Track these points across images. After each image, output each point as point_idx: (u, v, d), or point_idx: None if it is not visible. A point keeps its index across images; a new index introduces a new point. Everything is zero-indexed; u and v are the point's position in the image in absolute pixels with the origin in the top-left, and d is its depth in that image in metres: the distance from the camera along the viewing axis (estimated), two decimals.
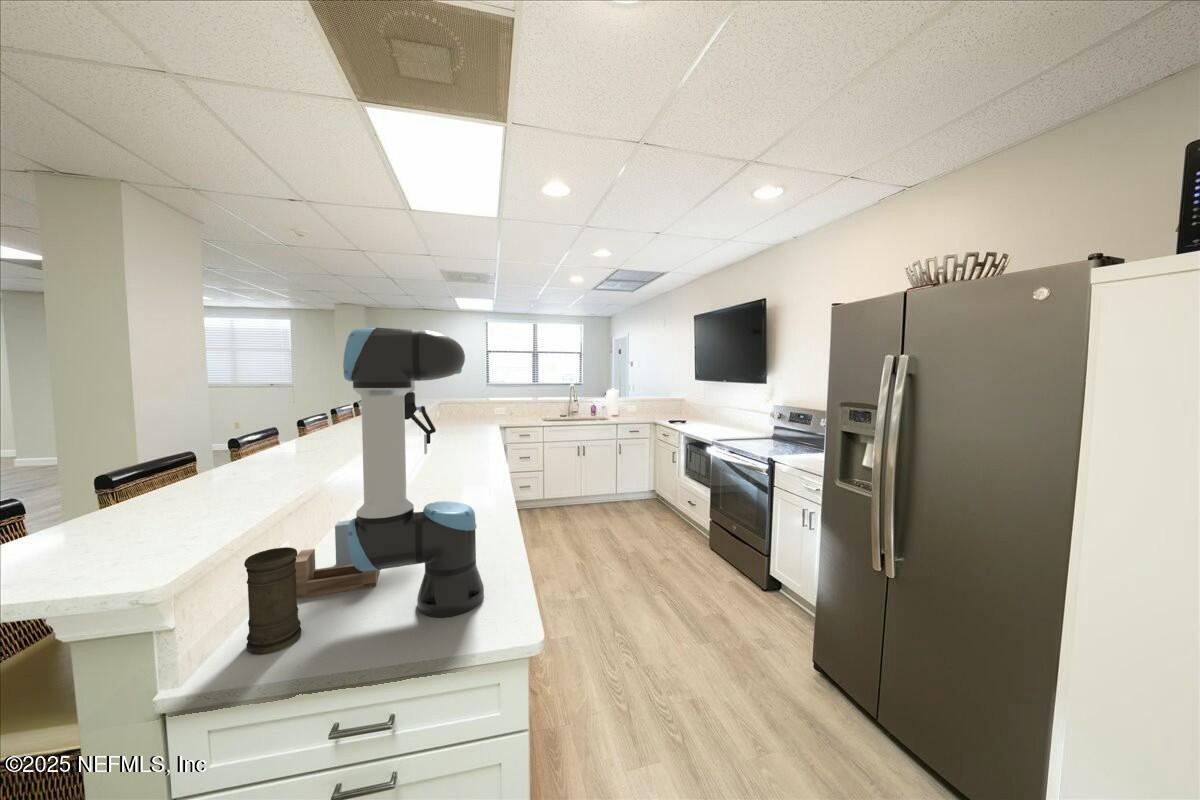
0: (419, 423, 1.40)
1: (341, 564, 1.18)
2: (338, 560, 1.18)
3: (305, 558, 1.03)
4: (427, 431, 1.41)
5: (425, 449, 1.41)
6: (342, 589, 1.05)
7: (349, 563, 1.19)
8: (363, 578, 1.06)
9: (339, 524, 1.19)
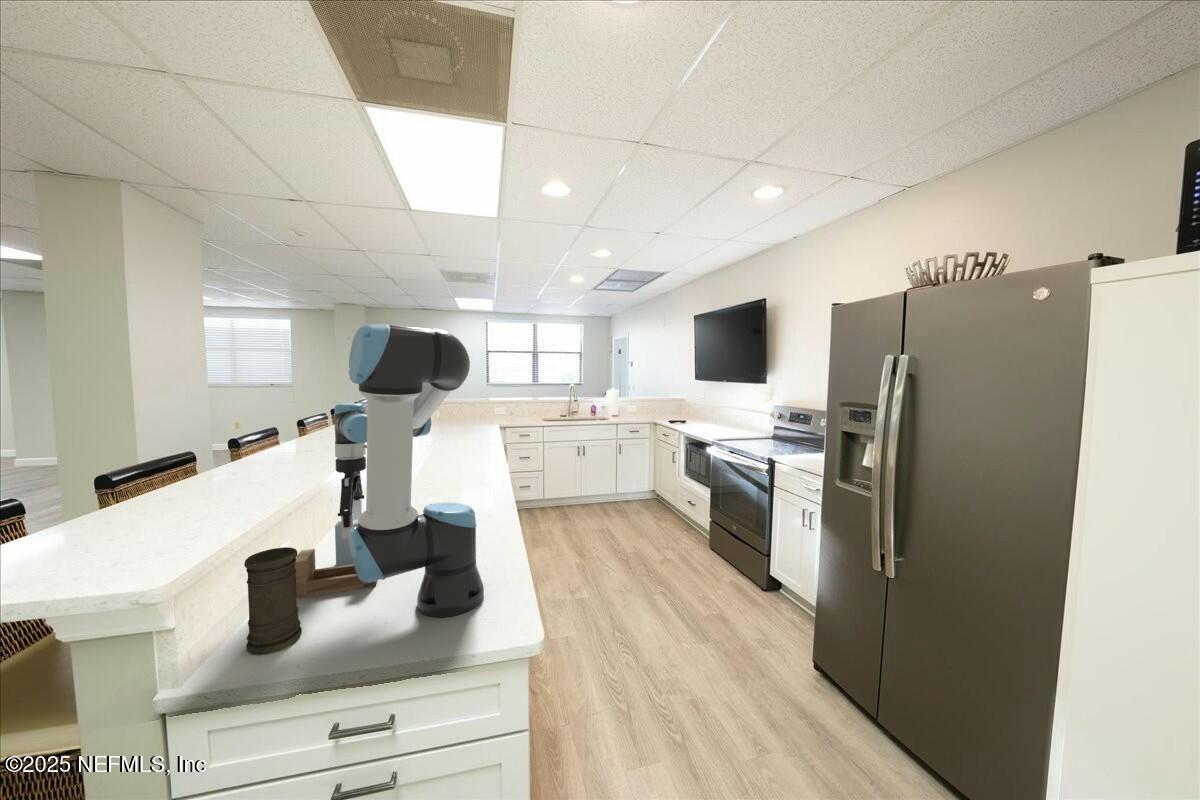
0: None
1: (341, 564, 1.18)
2: (338, 560, 1.18)
3: (305, 558, 1.03)
4: None
5: None
6: (342, 589, 1.05)
7: (349, 563, 1.19)
8: None
9: (339, 524, 1.19)
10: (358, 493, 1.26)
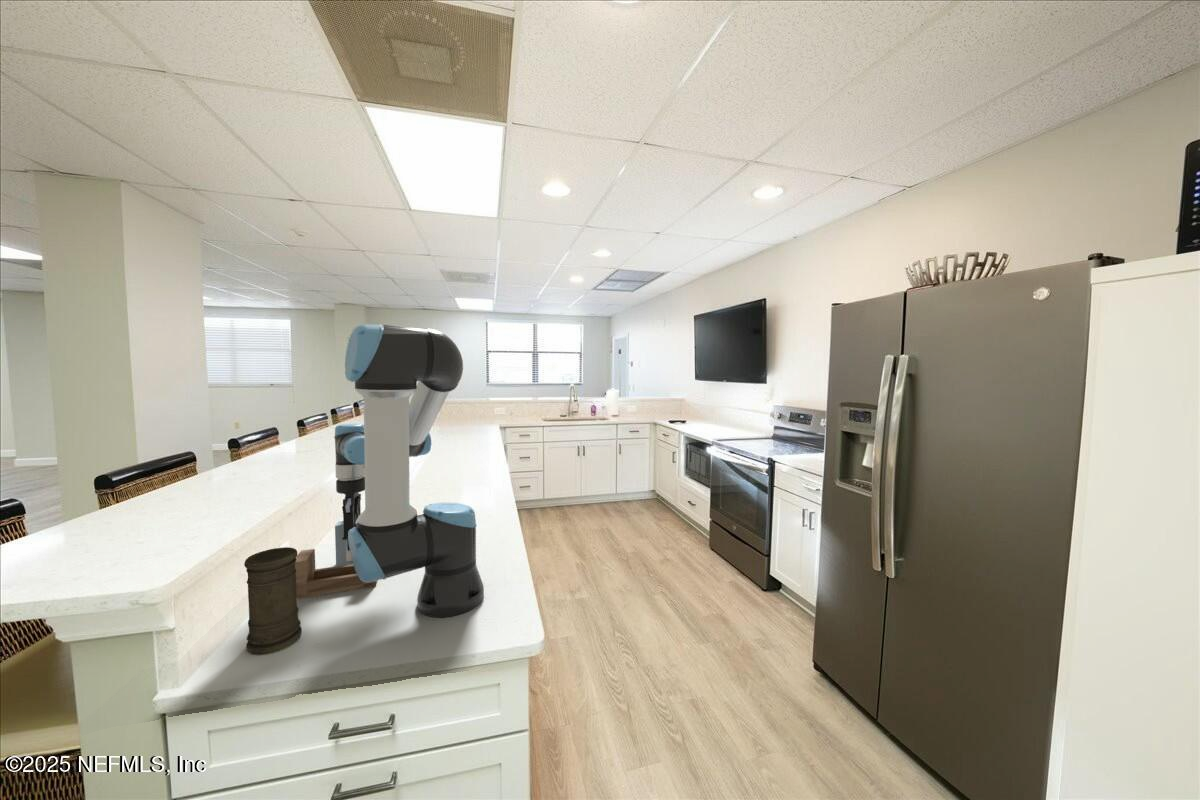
0: None
1: (341, 564, 1.18)
2: (338, 560, 1.18)
3: (305, 558, 1.03)
4: None
5: None
6: (342, 589, 1.05)
7: (349, 563, 1.19)
8: None
9: (339, 524, 1.19)
10: None
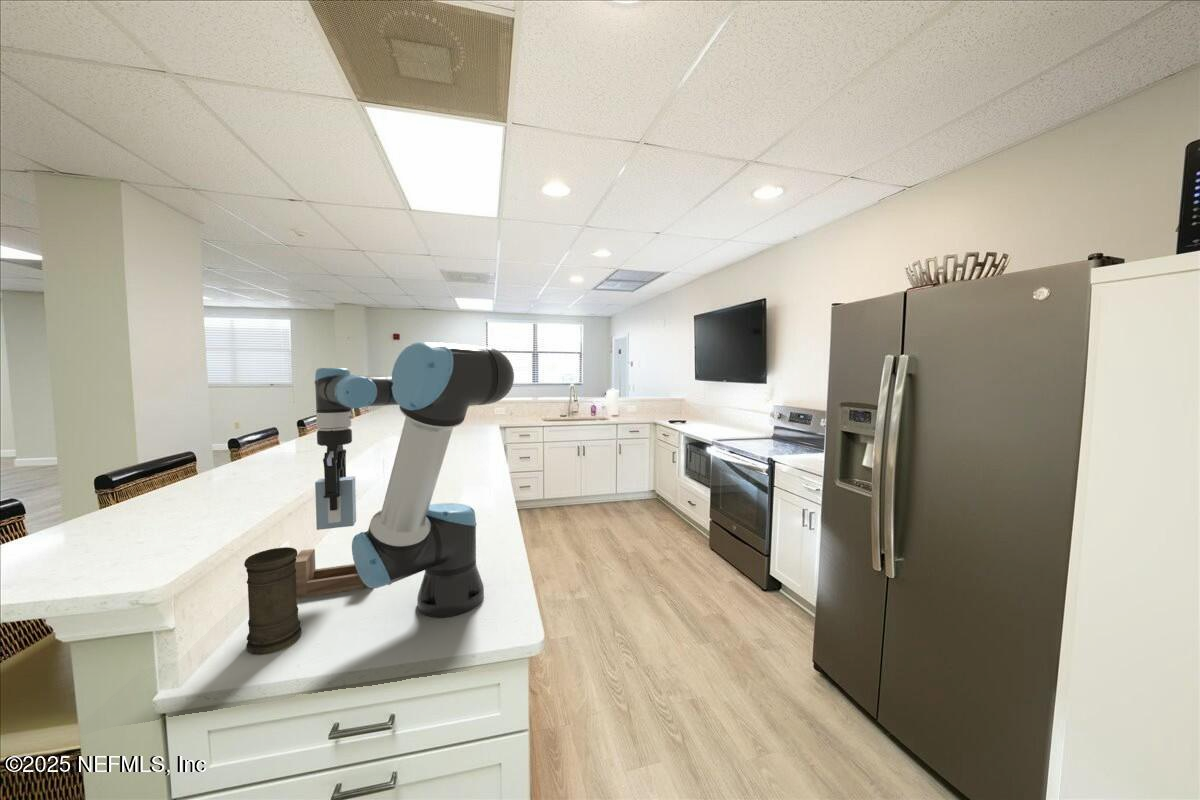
0: None
1: (322, 526, 1.04)
2: (319, 521, 1.04)
3: (305, 558, 1.03)
4: None
5: None
6: (342, 589, 1.05)
7: (331, 525, 1.05)
8: None
9: (320, 481, 1.04)
10: None
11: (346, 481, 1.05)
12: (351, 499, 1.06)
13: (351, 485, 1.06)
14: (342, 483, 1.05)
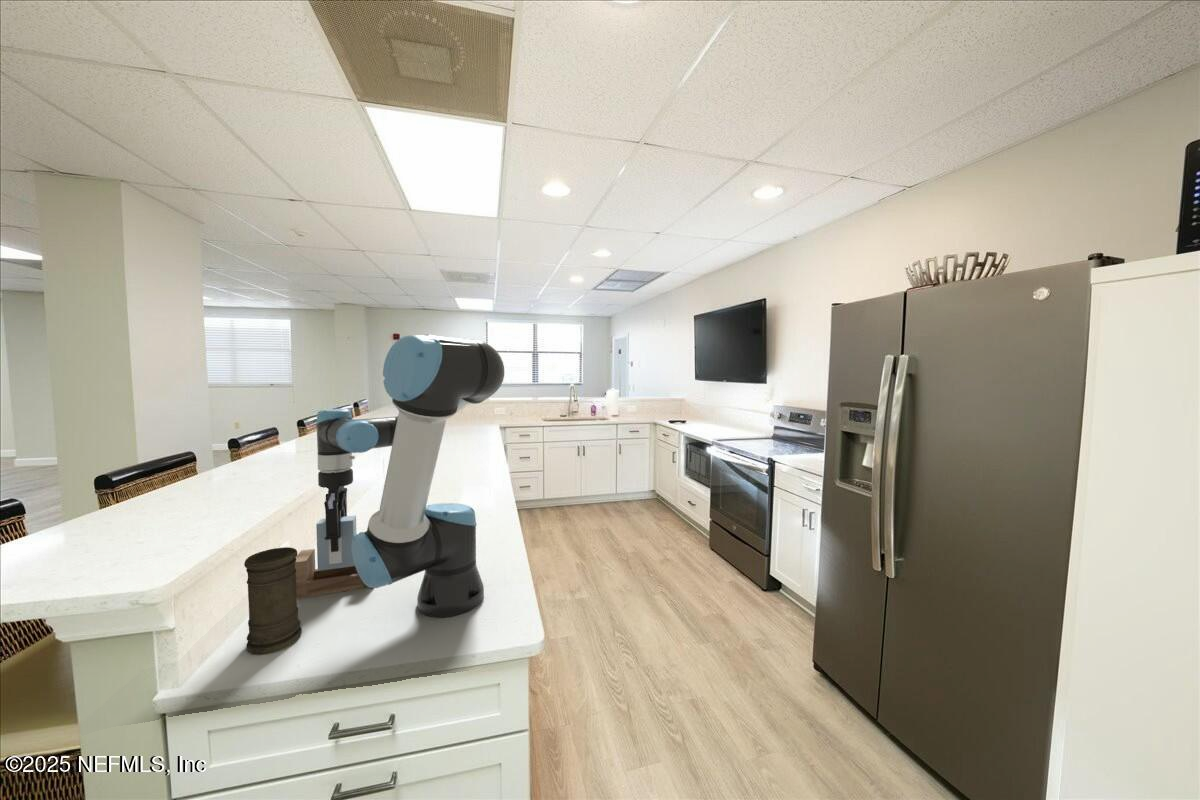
0: None
1: (323, 567, 1.05)
2: (320, 562, 1.04)
3: (305, 558, 1.03)
4: None
5: None
6: (342, 589, 1.05)
7: (332, 566, 1.05)
8: None
9: (321, 522, 1.05)
10: None
11: (347, 522, 1.06)
12: None
13: (352, 525, 1.07)
14: (343, 524, 1.06)
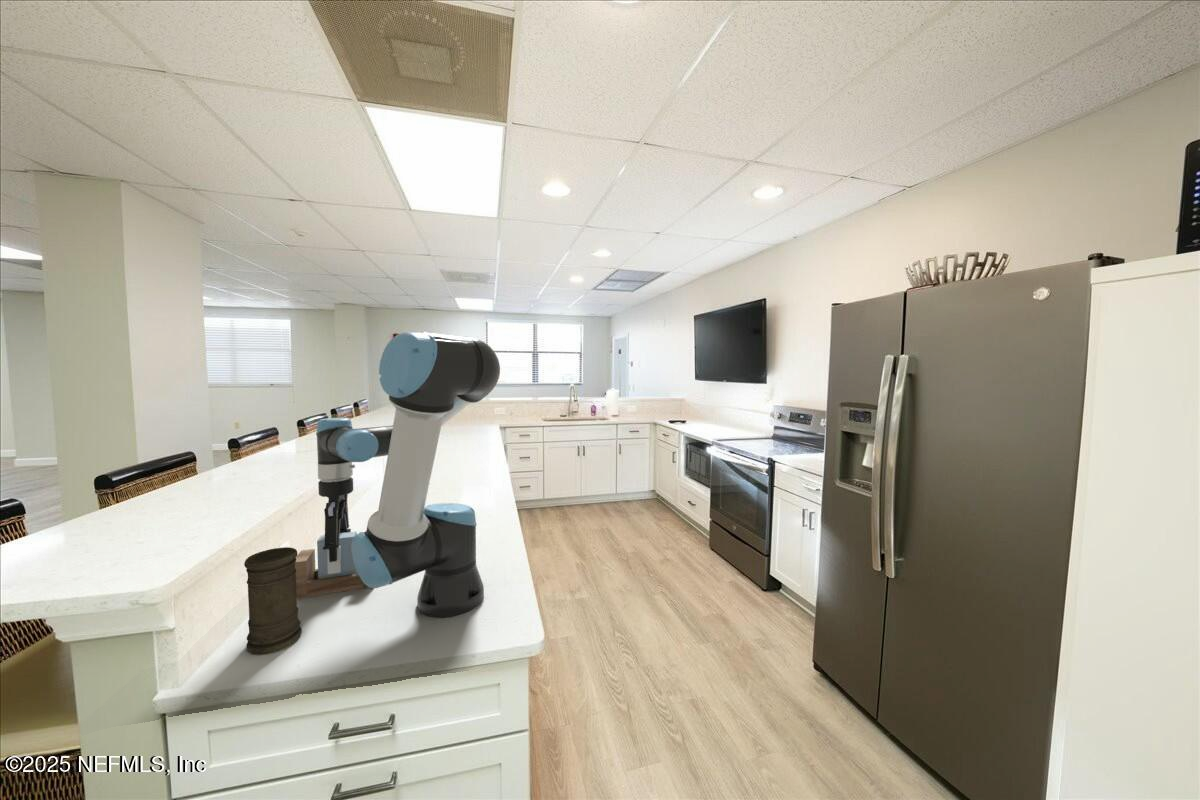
0: None
1: None
2: None
3: (305, 558, 1.03)
4: None
5: None
6: (342, 589, 1.05)
7: None
8: None
9: (322, 538, 1.05)
10: (344, 524, 1.11)
11: (348, 538, 1.06)
12: None
13: None
14: (344, 540, 1.06)
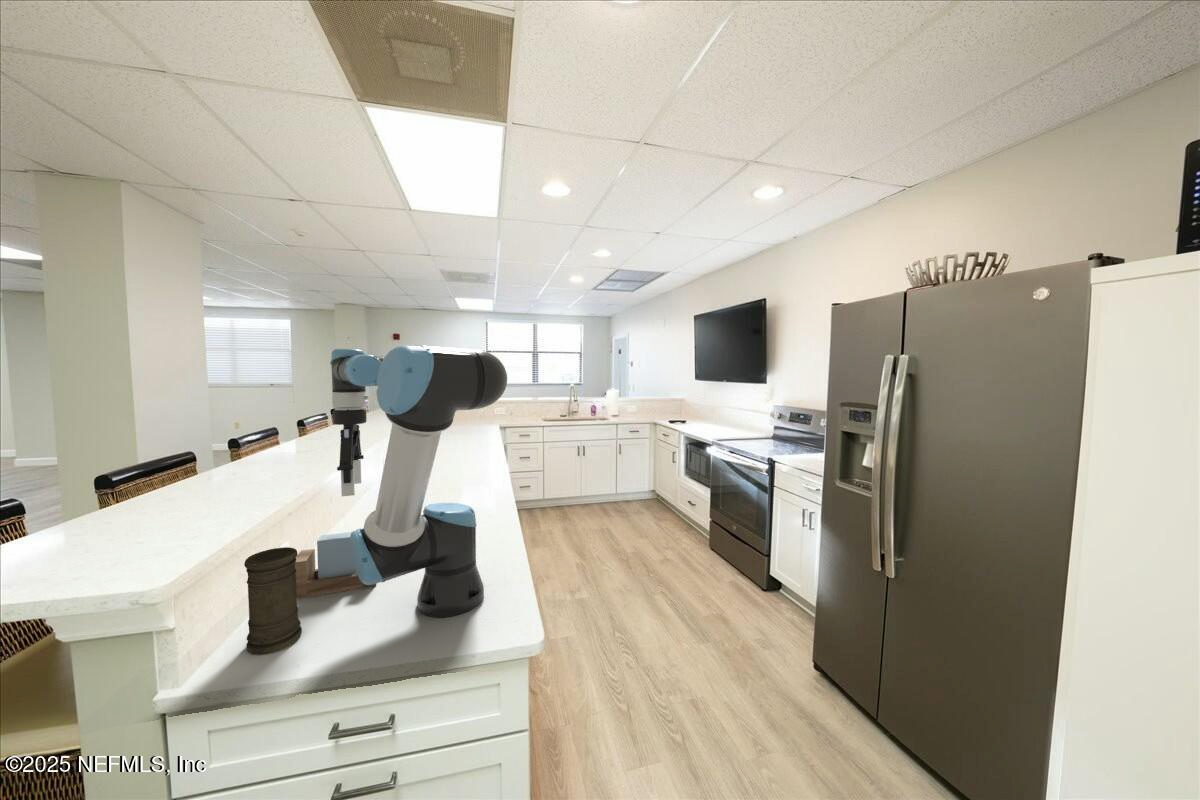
0: None
1: None
2: None
3: (305, 558, 1.03)
4: None
5: None
6: (342, 589, 1.05)
7: None
8: None
9: (322, 538, 1.05)
10: (357, 452, 1.14)
11: (348, 538, 1.06)
12: None
13: None
14: (344, 540, 1.06)
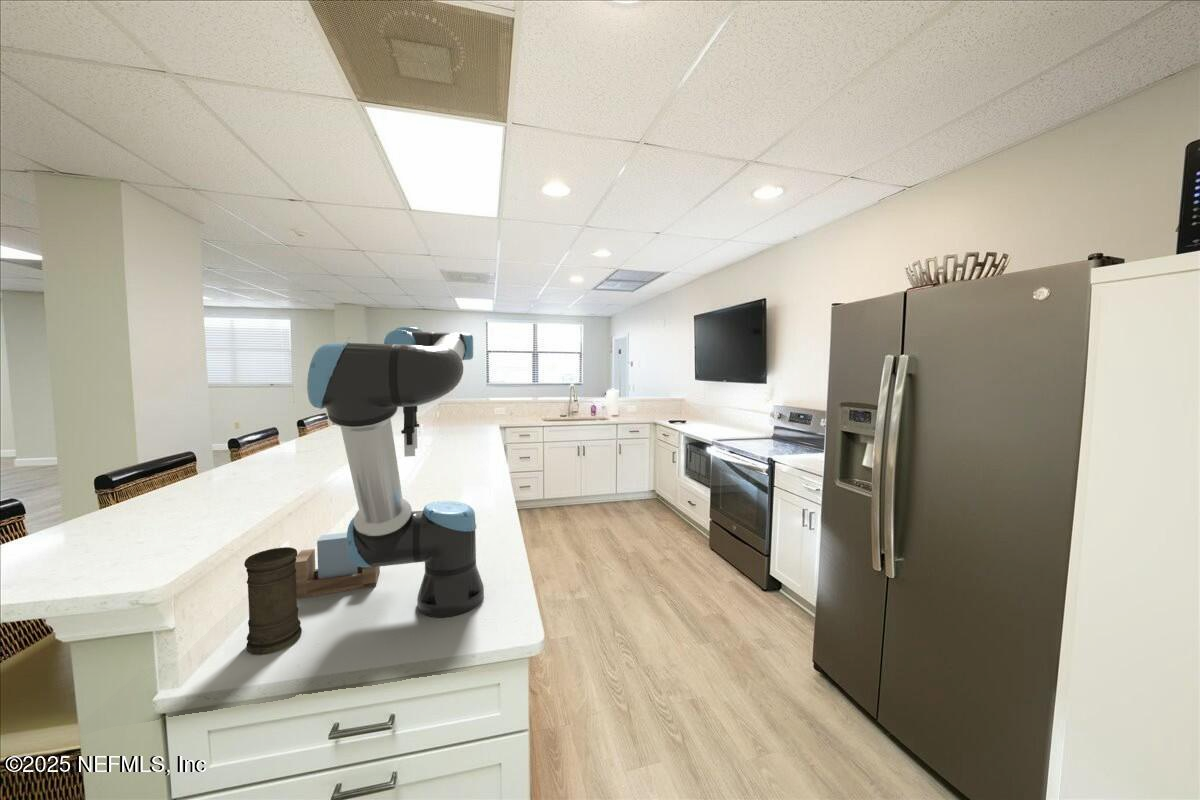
0: None
1: None
2: None
3: (305, 558, 1.03)
4: None
5: None
6: (342, 589, 1.05)
7: None
8: (363, 578, 1.06)
9: (322, 538, 1.05)
10: (414, 420, 1.28)
11: None
12: None
13: None
14: (344, 540, 1.06)
